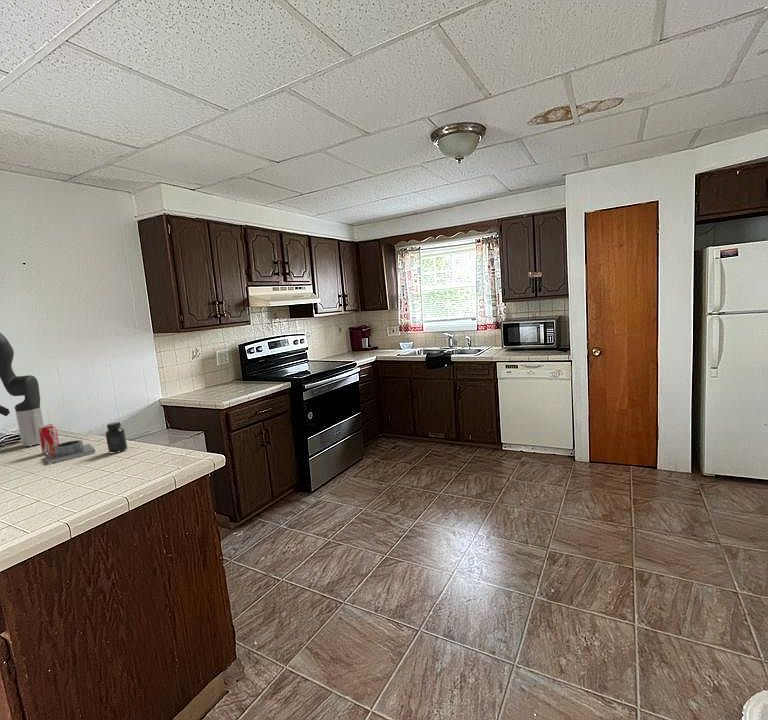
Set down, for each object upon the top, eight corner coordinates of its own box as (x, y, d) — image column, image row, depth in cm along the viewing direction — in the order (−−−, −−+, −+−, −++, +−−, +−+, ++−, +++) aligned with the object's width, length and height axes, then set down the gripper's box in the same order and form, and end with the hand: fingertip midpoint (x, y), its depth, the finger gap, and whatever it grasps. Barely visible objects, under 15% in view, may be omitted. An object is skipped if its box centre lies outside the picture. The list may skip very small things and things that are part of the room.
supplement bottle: (131, 448, 185) (126, 420, 184) (120, 453, 179) (115, 425, 177) (116, 448, 186) (111, 421, 185) (104, 454, 179) (100, 426, 178)
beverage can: (50, 454, 187) (45, 427, 185) (38, 454, 188) (33, 428, 187) (63, 449, 193) (59, 423, 191) (52, 450, 194) (47, 424, 193)
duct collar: (44, 457, 182) (42, 446, 182) (89, 447, 193) (87, 436, 193) (48, 464, 172) (46, 452, 172) (95, 452, 183) (93, 441, 182)
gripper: (-28, 384, 167) (16, 407, 176) (-28, 382, 178) (14, 404, 187) (-45, 400, 164) (1, 423, 173) (-43, 397, 175) (0, 418, 184)
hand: (8, 413), depth 180 cm, fingers open, 8 cm apart
